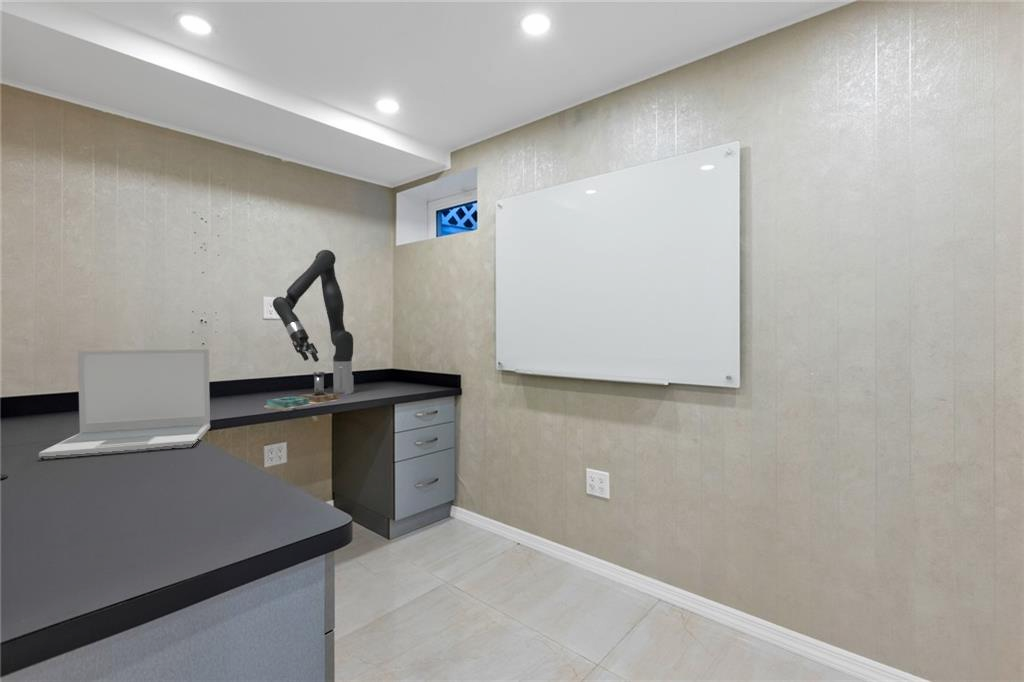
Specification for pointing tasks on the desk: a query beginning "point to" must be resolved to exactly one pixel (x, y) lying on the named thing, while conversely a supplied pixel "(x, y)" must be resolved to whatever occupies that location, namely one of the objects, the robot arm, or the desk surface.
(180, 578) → the desk surface
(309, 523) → the desk surface
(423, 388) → the desk surface
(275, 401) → the dock board
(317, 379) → the steel pin
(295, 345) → the robot arm
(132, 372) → the laptop
